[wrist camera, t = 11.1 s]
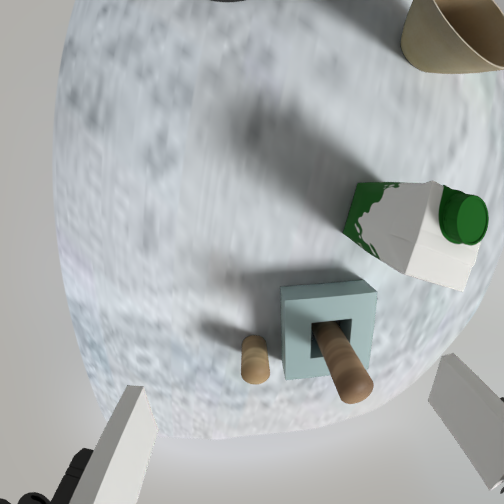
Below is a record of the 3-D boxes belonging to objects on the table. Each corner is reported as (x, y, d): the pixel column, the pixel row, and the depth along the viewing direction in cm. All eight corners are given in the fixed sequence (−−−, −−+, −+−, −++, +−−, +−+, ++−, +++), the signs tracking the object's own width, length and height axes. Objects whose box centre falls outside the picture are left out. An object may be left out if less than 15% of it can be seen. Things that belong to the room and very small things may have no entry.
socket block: (280, 286, 40) (284, 300, 35) (363, 279, 40) (377, 291, 35) (281, 360, 43) (285, 380, 38) (357, 351, 43) (367, 369, 38)
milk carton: (406, 194, 37) (508, 211, 18) (387, 255, 39) (477, 309, 20) (352, 173, 37) (443, 170, 17) (333, 238, 39) (407, 290, 19)
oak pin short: (240, 335, 42) (240, 362, 35) (266, 334, 42) (269, 361, 35) (242, 356, 42) (242, 384, 36) (266, 355, 42) (270, 383, 36)
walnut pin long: (310, 312, 41) (341, 379, 25) (334, 310, 41) (375, 373, 25) (309, 334, 42) (337, 406, 26) (333, 332, 42) (370, 400, 26)
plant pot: (437, 20, 30) (489, -16, 15) (464, 96, 34) (530, 77, 18) (364, 9, 31) (407, -46, 15) (393, 92, 34) (459, 58, 18)
